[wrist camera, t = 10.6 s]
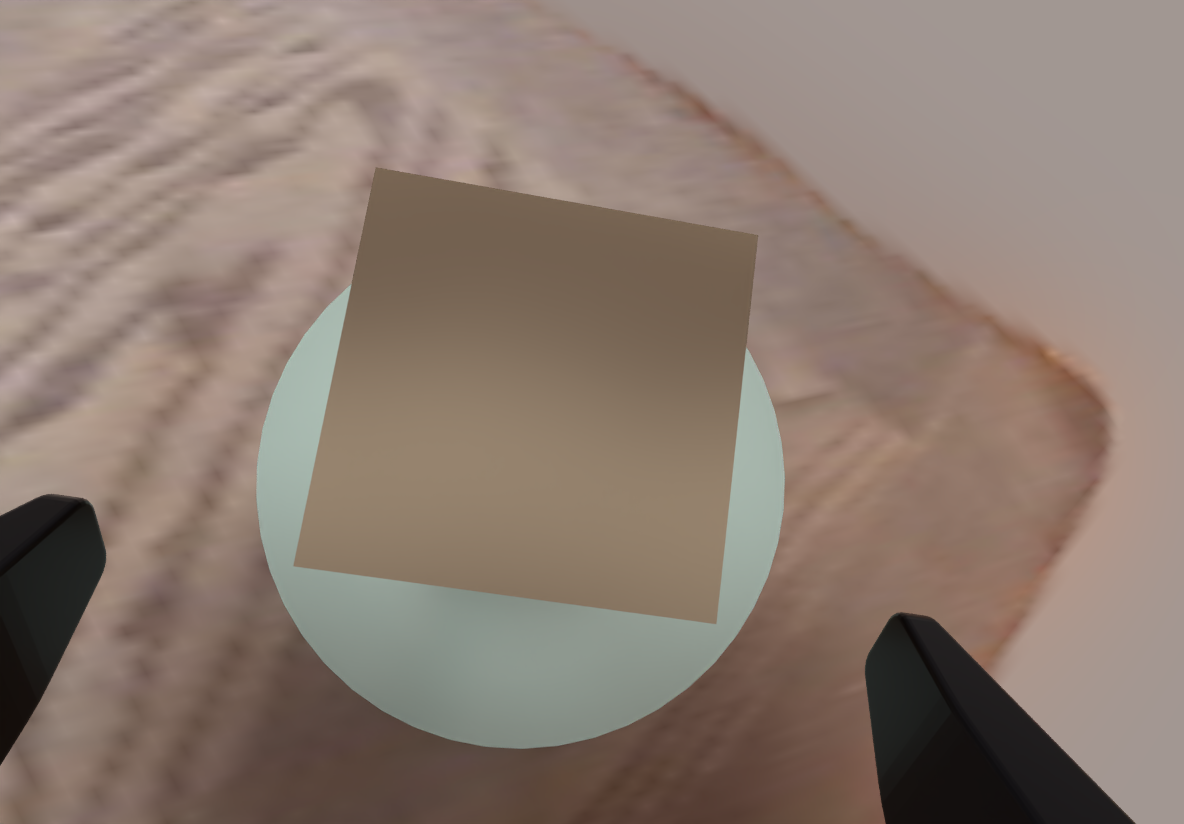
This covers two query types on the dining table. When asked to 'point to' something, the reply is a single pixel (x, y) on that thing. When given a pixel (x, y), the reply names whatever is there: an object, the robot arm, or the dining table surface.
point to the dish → (501, 598)
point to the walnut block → (534, 401)
